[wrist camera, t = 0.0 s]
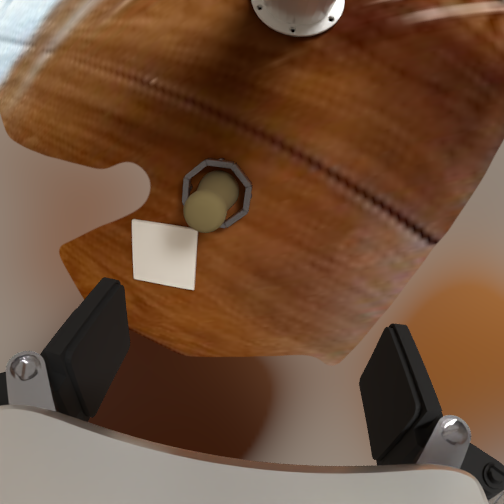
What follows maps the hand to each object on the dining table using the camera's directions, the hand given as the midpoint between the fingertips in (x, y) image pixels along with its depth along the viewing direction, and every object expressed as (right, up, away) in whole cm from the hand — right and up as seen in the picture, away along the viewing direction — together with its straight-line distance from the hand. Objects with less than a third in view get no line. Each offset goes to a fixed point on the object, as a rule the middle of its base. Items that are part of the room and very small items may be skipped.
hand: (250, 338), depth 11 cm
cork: (-5, +12, +36) cm, 38 cm away
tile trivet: (-14, +3, +41) cm, 44 cm away
